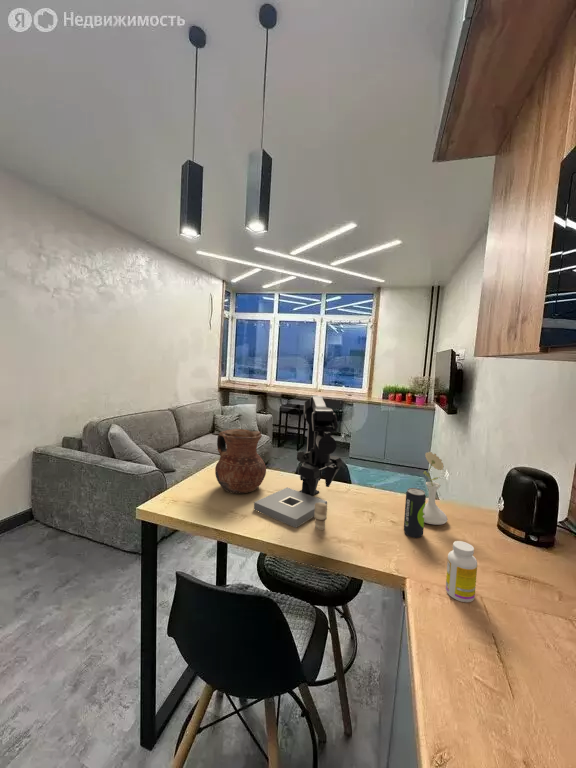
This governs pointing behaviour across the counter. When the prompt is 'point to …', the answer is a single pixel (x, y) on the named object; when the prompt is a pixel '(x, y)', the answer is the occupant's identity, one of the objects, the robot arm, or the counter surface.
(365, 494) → the counter surface
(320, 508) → the birch peg
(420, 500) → the beverage can
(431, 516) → the flower in vase
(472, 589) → the supplement bottle
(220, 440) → the jug
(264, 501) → the socket board
